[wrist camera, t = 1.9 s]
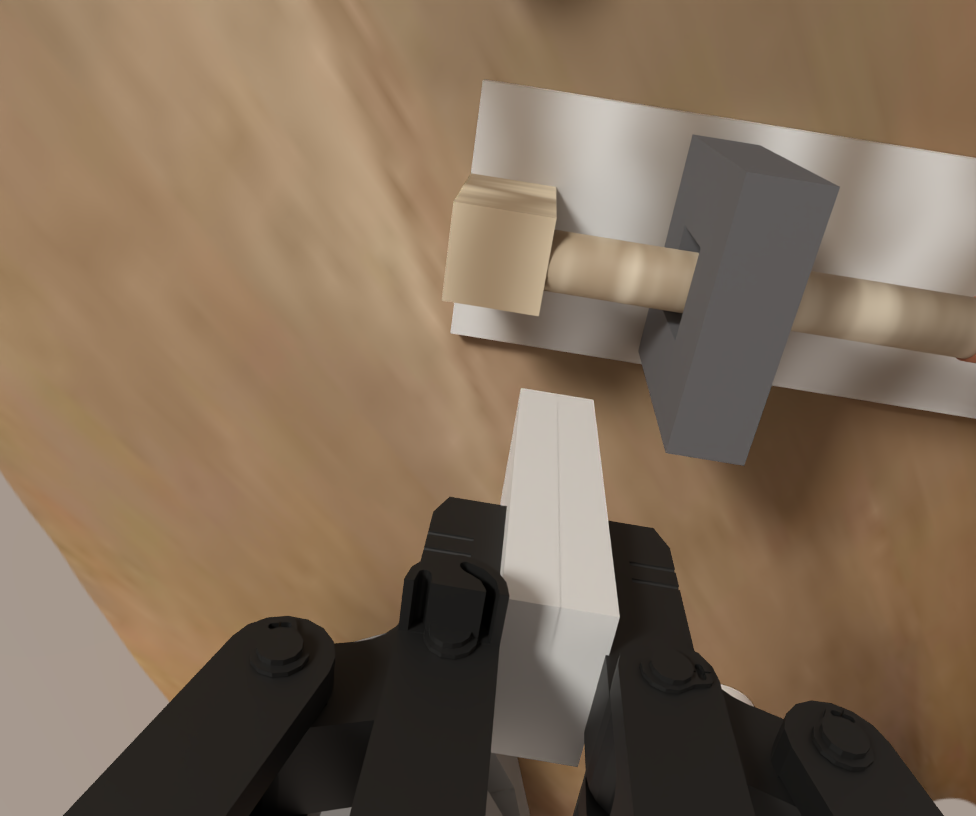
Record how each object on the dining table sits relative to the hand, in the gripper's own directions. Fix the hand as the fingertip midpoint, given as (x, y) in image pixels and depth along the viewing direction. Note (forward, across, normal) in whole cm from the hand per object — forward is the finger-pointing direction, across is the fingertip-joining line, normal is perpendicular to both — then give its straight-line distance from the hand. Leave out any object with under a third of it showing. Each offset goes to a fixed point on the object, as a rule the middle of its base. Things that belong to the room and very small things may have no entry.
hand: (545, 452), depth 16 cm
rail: (+23, +12, 0) cm, 26 cm away
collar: (+22, +7, 0) cm, 23 cm away
